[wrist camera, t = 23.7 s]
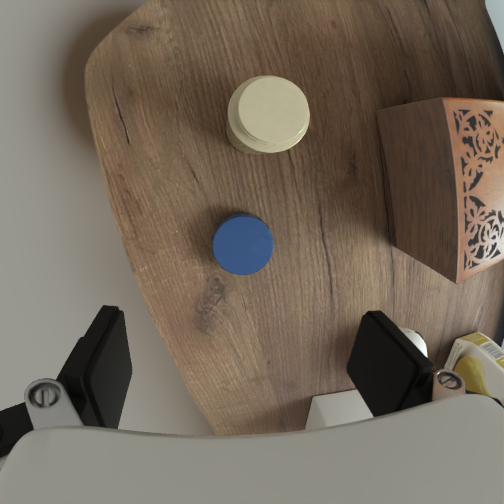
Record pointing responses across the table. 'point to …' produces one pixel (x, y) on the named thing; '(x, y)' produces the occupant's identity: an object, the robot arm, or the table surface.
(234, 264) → the jar lid
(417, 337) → the white egg shaped container
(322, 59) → the table surface
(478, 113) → the tissue box cover
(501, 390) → the juice carton
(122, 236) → the table surface
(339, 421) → the medicine bottle
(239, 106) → the jar
